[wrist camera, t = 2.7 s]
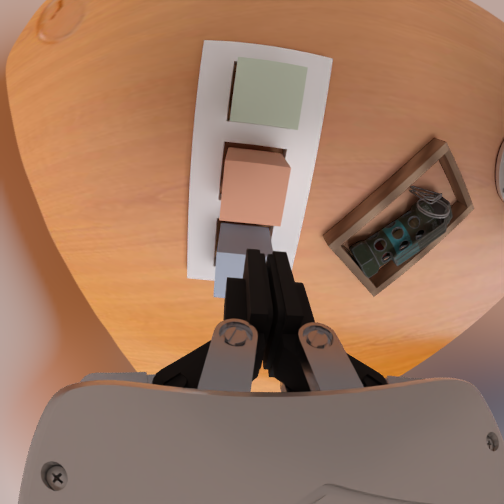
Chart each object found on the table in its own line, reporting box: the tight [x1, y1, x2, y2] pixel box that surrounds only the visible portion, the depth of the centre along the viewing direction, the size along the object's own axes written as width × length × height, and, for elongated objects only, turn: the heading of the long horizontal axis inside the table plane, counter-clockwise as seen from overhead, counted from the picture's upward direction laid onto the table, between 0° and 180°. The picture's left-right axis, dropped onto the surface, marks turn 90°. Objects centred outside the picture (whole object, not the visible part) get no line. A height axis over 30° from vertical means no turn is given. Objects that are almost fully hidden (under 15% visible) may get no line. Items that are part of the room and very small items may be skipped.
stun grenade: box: [350, 186, 453, 278], centre depth 30 cm, size 6×6×14 cm
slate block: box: [214, 223, 273, 298], centre depth 28 cm, size 5×5×6 cm
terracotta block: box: [219, 147, 291, 226], centre depth 24 cm, size 5×5×6 cm
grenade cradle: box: [323, 138, 474, 296], centre depth 31 cm, size 19×11×2 cm, turn 134°
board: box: [187, 40, 333, 281], centre depth 28 cm, size 26×12×2 cm, turn 172°
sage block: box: [230, 57, 308, 130], centre depth 20 cm, size 5×5×6 cm
